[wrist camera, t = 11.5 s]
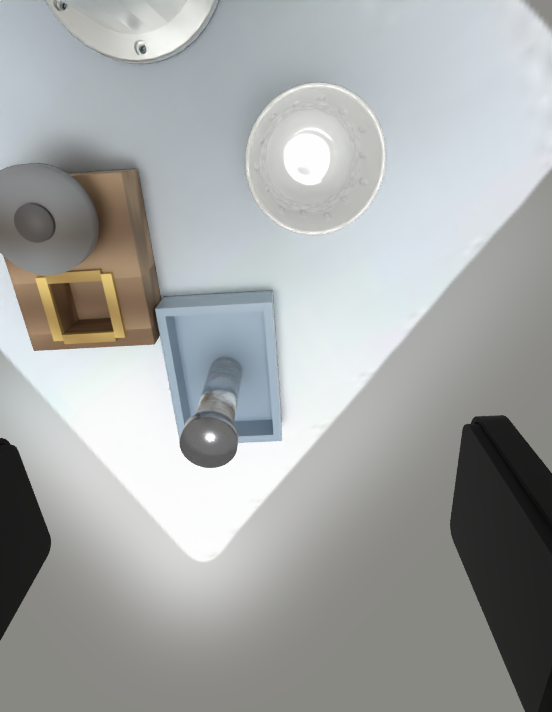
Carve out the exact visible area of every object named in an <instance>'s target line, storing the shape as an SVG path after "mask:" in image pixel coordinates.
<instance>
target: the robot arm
mask: <svg viewBox="0 0 552 712" xmlns="http://www.w3.org/2000/svg"><path fill="white" fill-rule="evenodd" d="M45 1H46V3H47V4H48V6H49V7H50V9H51V10H52V12H53V14H54V15H55V17H56V18H57V19H58V20H59V21H60V22H61V23H62V24H63V25H64V27H65V28H66V29H67V30H68V31H69V32H70V33H71V34H72V35H74V36H75V37H76V38H77V39H79V40H80V41H81V42H82V43H84V44H85V45H86V46H88V47H90V48H91V49H93V50H95V51H97V52H99V53H101V54H102V55H105V56H107V57H110V58H112V59H115V60H119V61H124V62H128V63H153V62H157V61H161V60H165V59H168V58H170V57H172V56H173V55H175V54H177V53H179V52H181V51H183V50H184V49H185V48H186V47H187V46H189V45H190V44H191V43H192V42H193V41H195V40H196V39H197V37H198V36H199V35H200V33H201V32H202V31H203V30H204V28H205V27H206V26H207V24H208V23H209V21H210V19H211V17H212V15H213V13H214V11H215V9H216V7H217V4H218V1H219V0H45ZM63 3H65V4H67V8H66V9H65V10H64V9H63ZM142 46H146V48H147V51H146V53H144V54H142V53H141V47H142ZM450 529H451V535H452V538H453V541H454V544H455V546H456V548H457V551H458V553H459V556H460V558H461V561H462V563H463V565H464V568H465V570H466V572H467V575H468V577H469V580H470V582H471V584H472V586H473V589H474V592H475V594H476V596H477V599H478V601H479V603H480V606H481V608H482V611H483V613H484V615H485V617H486V620H487V622H488V625H489V627H490V630H491V632H492V634H493V637H494V639H495V642H496V643H497V646H498V649H499V651H500V653H501V656H502V658H503V660H504V663H505V665H506V668H507V670H508V672H509V675H510V677H511V679H512V682H513V684H514V686H515V689H516V691H517V694H518V696H519V699H520V701H521V703H522V706H523V708H524V710H525V712H552V473H551V472H550V471H549V469H548V468H547V467H546V466H545V464H544V463H543V462H542V460H541V459H540V458H539V457H538V456H537V454H536V453H535V452H534V451H533V449H532V448H531V447H530V445H529V444H528V443H527V442H526V440H525V439H524V438H523V437H522V435H521V434H520V433H519V432H518V430H517V429H516V428H515V427H514V425H513V424H512V423H511V422H510V420H509V419H508V418H507V417H506V416H503V415H500V416H478V417H474V418H473V420H472V422H471V424H466V425H464V427H463V430H462V438H461V445H460V453H459V460H458V468H457V475H456V482H455V491H454V497H453V505H452V512H451V520H450ZM50 547H51V538H50V534H49V532H48V529H47V526H46V524H45V521H44V518H43V516H42V513H41V511H40V508H39V505H38V502H37V500H36V497H35V494H34V492H33V489H32V486H31V484H30V481H29V478H28V476H27V473H26V471H25V468H24V465H23V462H22V460H21V457H20V454H19V452H18V450H17V448H16V447H15V446H14V445H10V443H9V442H8V441H7V440H6V439H3V438H0V640H1V638H2V637H3V635H4V633H5V631H6V629H7V628H8V626H9V624H10V622H11V621H12V619H13V617H14V615H15V613H16V612H17V610H18V608H19V606H20V604H21V602H22V601H23V599H24V597H25V595H26V594H27V592H28V590H29V588H30V586H31V585H32V583H33V581H34V579H35V578H36V576H37V574H38V572H39V570H40V569H41V567H42V565H43V563H44V561H45V560H46V558H47V556H48V554H49V551H50Z"/></svg>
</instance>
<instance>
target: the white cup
mask: <svg viewBox="0 0 552 712" xmlns="http://www.w3.org/2000/svg"><path fill="white" fill-rule="evenodd" d="M245 166H246V175H247V180H248V184H249V187H250V190H251V192H252V195H253V197H254V199H255V201H256V202H257V204H258V205H259V207H260V208H261V209H262V211H263V212H264V213H265V214H266V215H267V216H268V217H269V218H270V219H271V220H272V221H274V222H275V223H276V224H278V225H280V226H281V227H283V228H285V229H287V230H290V231H292V232H295V233H299V234H305V235H321V234H327V233H331V232H334V231H337V230H340V229H342V228H344V227H346V226H348V225H349V224H351V223H352V222H354V221H355V220H356V219H357V218H359V217H360V216H361V215H362V214H363V213H364V212H365V211H366V210H367V208H368V207H369V206H370V205H371V203H372V202H373V200H374V198H375V197H376V195H377V193H378V191H379V189H380V186H381V183H382V180H383V177H384V172H385V166H386V146H385V140H384V135H383V132H382V129H381V126H380V124H379V122H378V120H377V118H376V116H375V115H374V113H373V111H372V110H371V109H370V107H369V106H368V105H367V104H366V103H365V102H364V101H363V100H362V99H361V98H360V97H358V96H357V95H356V94H354V93H353V92H351V91H349V90H347V89H345V88H343V87H340V86H337V85H334V84H329V83H307V84H303V85H299V86H296V87H293V88H291V89H289V90H287V91H285V92H283V93H282V94H280V95H279V96H277V97H276V98H275V99H274V100H272V101H271V102H270V103H269V104H268V105H267V106H266V107H265V109H264V110H263V111H262V112H261V114H260V115H259V117H258V118H257V120H256V122H255V124H254V126H253V128H252V130H251V133H250V136H249V139H248V143H247V148H246V157H245Z"/></svg>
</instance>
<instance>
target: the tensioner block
mask: <svg viewBox="0 0 552 712" xmlns="http://www.w3.org/2000/svg"><path fill="white" fill-rule="evenodd" d="M0 253H1V254H2V255H3V256H4V259H5V262H6V265H7V268H8V271H9V274H10V278H11V281H12V284H13V287H14V290H15V293H16V296H17V299H18V303H19V306H20V309H21V312H22V315H23V318H24V321H25V324H26V328H27V331H28V334H29V337H30V340H31V343H32V346H33V349H34V351H39V350H58V349H76V348H95V347H114V346H133V345H152V344H155V343H156V341H157V339H158V338H159V336H160V333H159V327H158V322H157V317H156V311H155V308H156V307H157V306H158V304H159V303H160V302H161V296H160V291H159V285H158V279H157V274H156V268H155V263H154V257H153V252H152V246H151V240H150V235H149V229H148V224H147V218H146V213H145V207H144V201H143V196H142V190H141V185H140V179H139V173H138V169H125V170H110V171H95V172H81V173H66V172H64V171H63V170H61V169H59V168H56V167H54V166H50V165H47V164H41V163H29V164H20V165H14V166H10V167H7V168H5V169H3V170H1V171H0Z"/></svg>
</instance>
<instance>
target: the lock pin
mask: <svg viewBox="0 0 552 712" xmlns="http://www.w3.org/2000/svg"><path fill="white" fill-rule="evenodd" d="M241 379H242V367H241V365H240V364H239V363H238V362H237V361H236V360H235V359H233V358H230V357H220V358H218V359H216V360H215V361H214V362H213V363H212V364H211V366H210V369H209V372H208V376H207V379H206V382H205V385H204V388H203V391H202V395H201V398H200V401H199V404H198V407H197V410H196V413H195V414H194V415H193V416H191V417H190V418H189V419H188V420H187V421H186V423H185V425H184V428H183V431H182V434H181V437H180V448H181V451H182V453H183V454H184V456H185V457H186V458H187V459H188V460H189V461H191V462H192V463H194V464H196V465H198V466H201V467H206V468H215V467H220V466H223V465H225V464H226V463H228V462H229V461H230V460H231V459H232V458H233V457H234V456H235V454H236V451H237V445H238V438H239V433H238V429H237V427H236V425H235V423H234V420H235V415H236V409H237V403H238V397H239V391H240V385H241Z"/></svg>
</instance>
